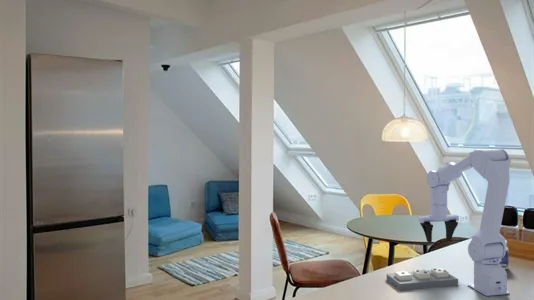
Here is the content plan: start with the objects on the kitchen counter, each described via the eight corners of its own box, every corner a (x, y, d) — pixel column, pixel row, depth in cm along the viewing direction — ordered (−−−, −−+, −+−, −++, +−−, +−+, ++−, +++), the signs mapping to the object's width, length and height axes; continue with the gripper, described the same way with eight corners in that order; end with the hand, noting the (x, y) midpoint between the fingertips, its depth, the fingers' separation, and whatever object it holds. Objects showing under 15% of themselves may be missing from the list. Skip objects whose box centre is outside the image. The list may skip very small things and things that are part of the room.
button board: (458, 285, 144) (458, 279, 144) (400, 290, 141) (400, 283, 141) (441, 275, 154) (441, 269, 154) (386, 279, 150) (386, 273, 150)
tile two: (430, 279, 145) (430, 272, 145) (418, 280, 145) (418, 273, 145) (424, 275, 149) (424, 268, 149) (413, 276, 149) (412, 269, 149)
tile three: (448, 277, 146) (448, 271, 146) (437, 278, 146) (437, 272, 146) (442, 273, 150) (442, 267, 150) (431, 274, 150) (431, 268, 150)
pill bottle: (511, 269, 158) (511, 242, 157) (495, 270, 158) (495, 242, 157) (503, 264, 163) (503, 238, 163) (487, 265, 164) (487, 238, 163)
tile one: (411, 280, 144) (411, 274, 144) (400, 281, 144) (400, 275, 144) (405, 276, 148) (405, 270, 148) (394, 277, 148) (394, 271, 148)
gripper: (451, 201, 165) (451, 237, 166) (414, 203, 163) (414, 239, 164) (462, 204, 158) (462, 242, 159) (424, 206, 156) (424, 244, 157)
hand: (439, 241), depth 161 cm, fingers open, 7 cm apart
